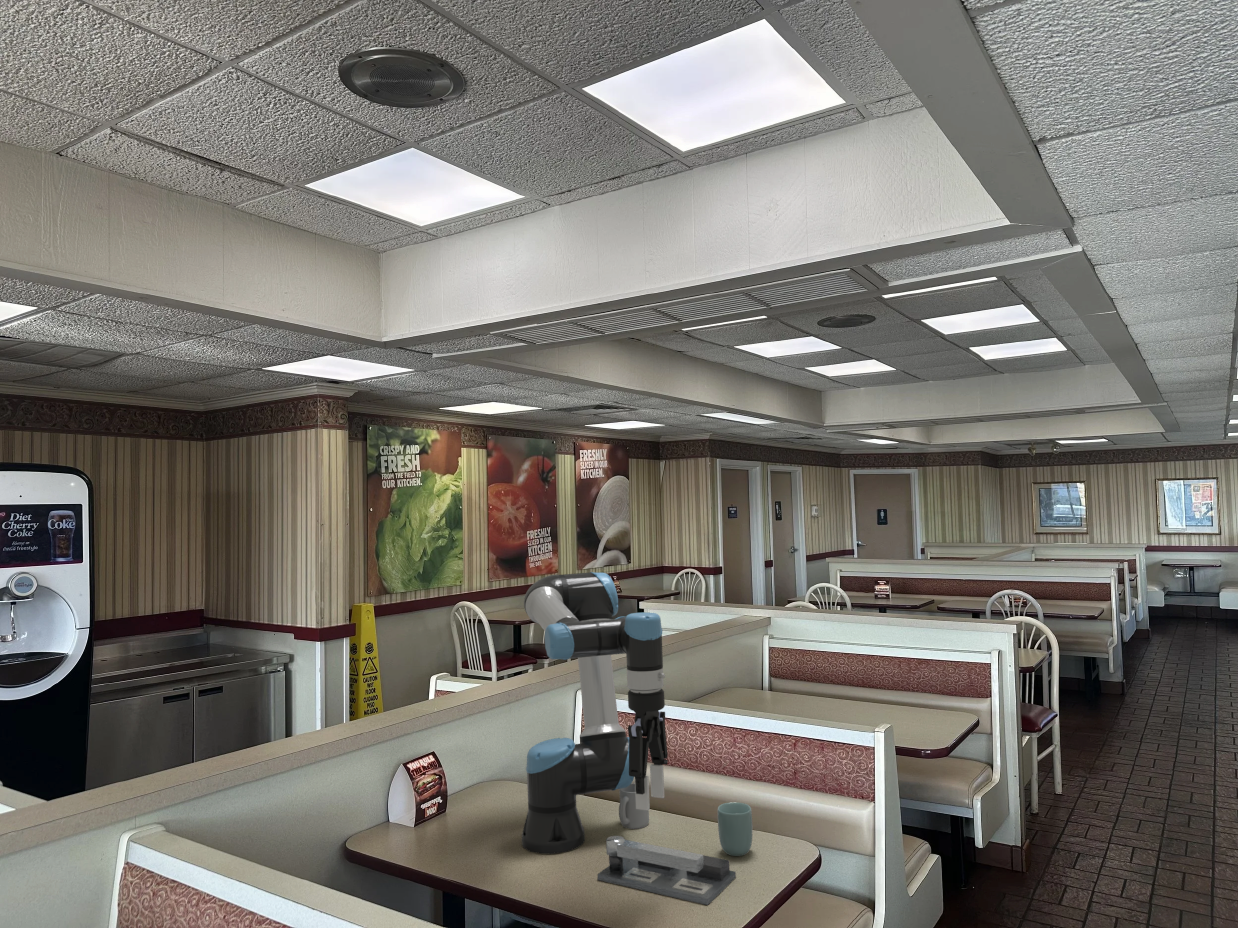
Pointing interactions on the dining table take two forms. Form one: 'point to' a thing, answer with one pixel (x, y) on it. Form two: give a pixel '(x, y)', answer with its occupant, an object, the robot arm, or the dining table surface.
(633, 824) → the cup
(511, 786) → the dining table surface
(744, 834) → the cup
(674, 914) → the dining table surface
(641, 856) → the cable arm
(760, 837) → the dining table surface
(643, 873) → the panel
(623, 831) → the dining table surface
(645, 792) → the robot arm
